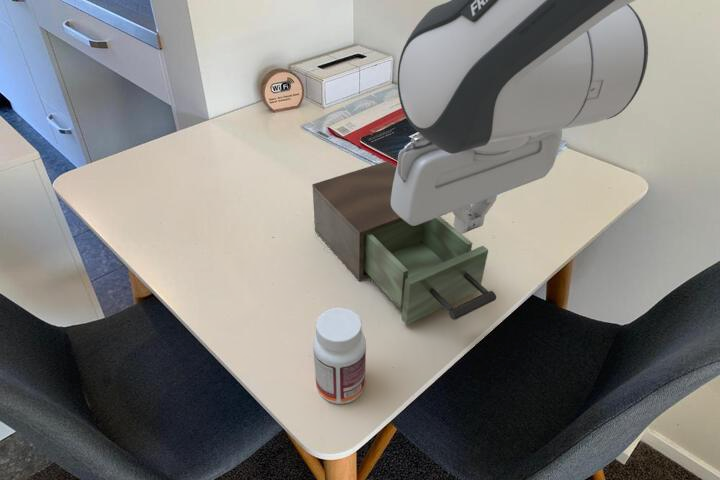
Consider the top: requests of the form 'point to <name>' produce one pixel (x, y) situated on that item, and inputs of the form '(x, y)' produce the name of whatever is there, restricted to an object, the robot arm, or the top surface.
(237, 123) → the top surface
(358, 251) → the cabinet
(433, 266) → the drawer
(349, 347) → the pill bottle
